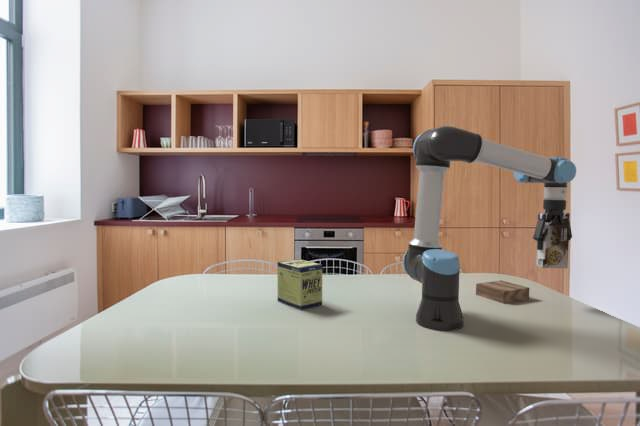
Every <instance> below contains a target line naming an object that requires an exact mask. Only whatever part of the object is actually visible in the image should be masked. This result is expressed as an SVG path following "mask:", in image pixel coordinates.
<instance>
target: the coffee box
mask: <svg viewBox="0 0 640 426" xmlns="http://www.w3.org/2000/svg"><path fill="white" fill-rule="evenodd" d="M547 228H548V234H547V236H546V238H545V240H544V241H545V242H546V249H545V259H539V258H537V257H536V259H535V260H536V261H535V262H536V263H535V265H536V266H537V267H539V268H542V269H568V268H569V266H568V265H569V264H568V263H569V242H570V240H569V226H568V225H565V224H563V225H561V224H553V225H545V226H544V229H543V230H544V231H545V230H546V229H547ZM541 238H542V237H541ZM537 253H538V250H537V249H536V254H537Z"/></svg>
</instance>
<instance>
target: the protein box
mask: <svg viewBox="0 0 640 426" xmlns="http://www.w3.org/2000/svg"><path fill="white" fill-rule="evenodd" d="M277 302H280V303H282V304H285V305H287V306H290V307H292V308H294V309H297V310H299V309H300V310H299V311H302V310H306V309H311V308H315V307H319V305H320V306H323V264H321V263H316V262H312V261H309V260H304V259H301V258H300V259H299V258H298V259H290V260H283V261H277Z"/></svg>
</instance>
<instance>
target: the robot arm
mask: <svg viewBox="0 0 640 426" xmlns="http://www.w3.org/2000/svg"><path fill="white" fill-rule="evenodd" d="M412 153H413V156H414V158H415V159H416V161H415V162H416V163H415V168H416V169H417V170H418V172H419V176H418V187H417V198H416V199H417V200H416V209H415V220H414V231H413V232H414V233H413V238H412V239H411V240H410V241H409V242H408V247H407V248H408V249H407V250H406V251H405V252H404V255H403V257H402V267H403V270H404V271H405V273H406V274H407V276H409V277H410V279H412V280H415V281H417V282H419V283H420V284H421V300H420V303H419V304H418V305H419V306H418V309H417V312H416V313H415V322H416V323H417V324H418V325H419V326H421V327H424V328H427V329H430V330H431V329H432V330H438V331H453V330H459V329H461V328H463V327H464V324H465V319H464V318H465V317H464V316H463V312H462V307H461V304H460V301H459V297H460V295H459V294H460V292H459V291H460V269H461V265H460V257H459V256H458V255H457V253H455V252H453V251H450V250H445V249H443V245H442V244H441V243H440V241H439V236H440V226H441V215H442V214H441V213H442V206H443V205H442V204H443V195H444V186H445V185H444V184H445V176H446V175H445V174H446V172H448V171H449V170H450V168H451V162H464V163H467V164H473V163H475V162H476V163H479V164H483V165H488V166H491V167H494V168H498V169H502V170H506V171H510V172H513V177H514V179H515V180H516V182H518V183H524V184H527V183H528V184H529V183H530V184H540V183H541V184H543V186H544V187H543V198H544V200H543V204H542V208H543V210H545V211H544V213H541V212H539V213H538V215H537V223H536V225H535V230H534V233H533V235H532V236H533V237H532V239H533V240H534V241H536V251H537V250H538V253H537V252H536V258H539V259H545V249H546V242H545V241H544V240H545V238H546V236H547V234H548V228H547V229H546V230H545V231H544V230H543V229H544V226H545V225H553V224H561V225H563V224H565V225H568V226H569V241H571V239H572V238H573V233H572V228H571V222H570V221H571V220H570V216H571V215H570V213H569V212H564V211H565V210H566V209H567V200H565V199H566V198H567V195H568V194H567V191H568V190H567V189H568V183H570V182H571V181H573V180H574V179H575V177H576V175H577V167H576V164H575V163H574V162H573V161H571V160H569V159H568V158H567V157H561V156H559V157H555V156H554V157H552V156H551V157H547V156H544V155H540V154H536V153H534V152H533V153H532V152H531V151H526V150H523V149H519V148H515V147H512V146H508V145H506V144H502V143H499V142H495V141H491V140H489V139H484V138H483V136H482V135H481V134H479V133H475V132H473V131H469V130H465V129H462V128H459V127H455V126H449V125H446V126H445V125H444V126H440V127H436V128H432V129H431V128H430V129H427V130H425V131H424V132H421V133H420V134H419V135H418V136H417V137H416V138H415V139H414V142H413V145H412ZM541 237H542V238H541Z"/></svg>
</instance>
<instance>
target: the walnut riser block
mask: <svg viewBox="0 0 640 426" xmlns="http://www.w3.org/2000/svg"><path fill="white" fill-rule="evenodd" d="M475 296H478V297H482V298H484V299H488V300H491V301H494V302H498V303H500V304H508V303H509V304H510V303H514V302H521V301H526V300H530V287H527V286H525V285H520V284H516V283H512V282H509V281H505V280H493V281H487V282H479V283H476V284H475Z"/></svg>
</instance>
